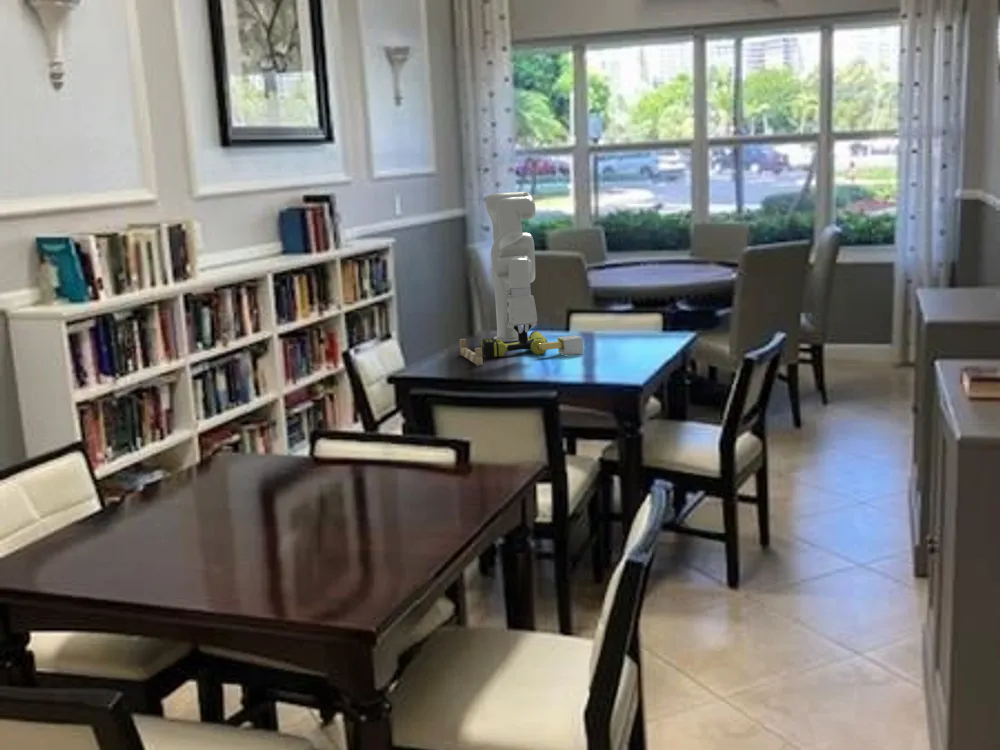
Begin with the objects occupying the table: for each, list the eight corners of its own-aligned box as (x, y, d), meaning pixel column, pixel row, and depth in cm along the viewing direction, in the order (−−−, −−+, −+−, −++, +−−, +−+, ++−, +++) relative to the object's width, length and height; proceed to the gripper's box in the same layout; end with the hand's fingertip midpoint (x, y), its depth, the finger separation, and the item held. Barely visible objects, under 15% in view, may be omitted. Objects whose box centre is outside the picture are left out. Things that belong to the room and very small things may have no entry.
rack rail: (460, 355, 394) (459, 339, 393) (465, 354, 395) (464, 338, 393) (477, 365, 372) (476, 348, 370) (482, 364, 372) (481, 348, 371)
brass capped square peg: (537, 350, 381) (536, 342, 380) (562, 347, 383) (562, 339, 383) (539, 351, 378) (539, 343, 377) (565, 348, 380) (564, 341, 380)
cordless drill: (479, 347, 407) (543, 343, 408) (482, 361, 382) (550, 356, 384) (478, 329, 405) (543, 325, 406) (481, 342, 381) (549, 338, 382)
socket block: (558, 353, 385) (557, 337, 384) (576, 351, 387) (575, 335, 386) (565, 356, 379) (564, 339, 378) (583, 354, 381) (582, 337, 379)
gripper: (503, 295, 368) (506, 347, 371) (543, 291, 372) (546, 342, 375) (497, 293, 375) (500, 344, 378) (536, 290, 379) (539, 340, 382)
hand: (523, 343), depth 376 cm, fingers closed
